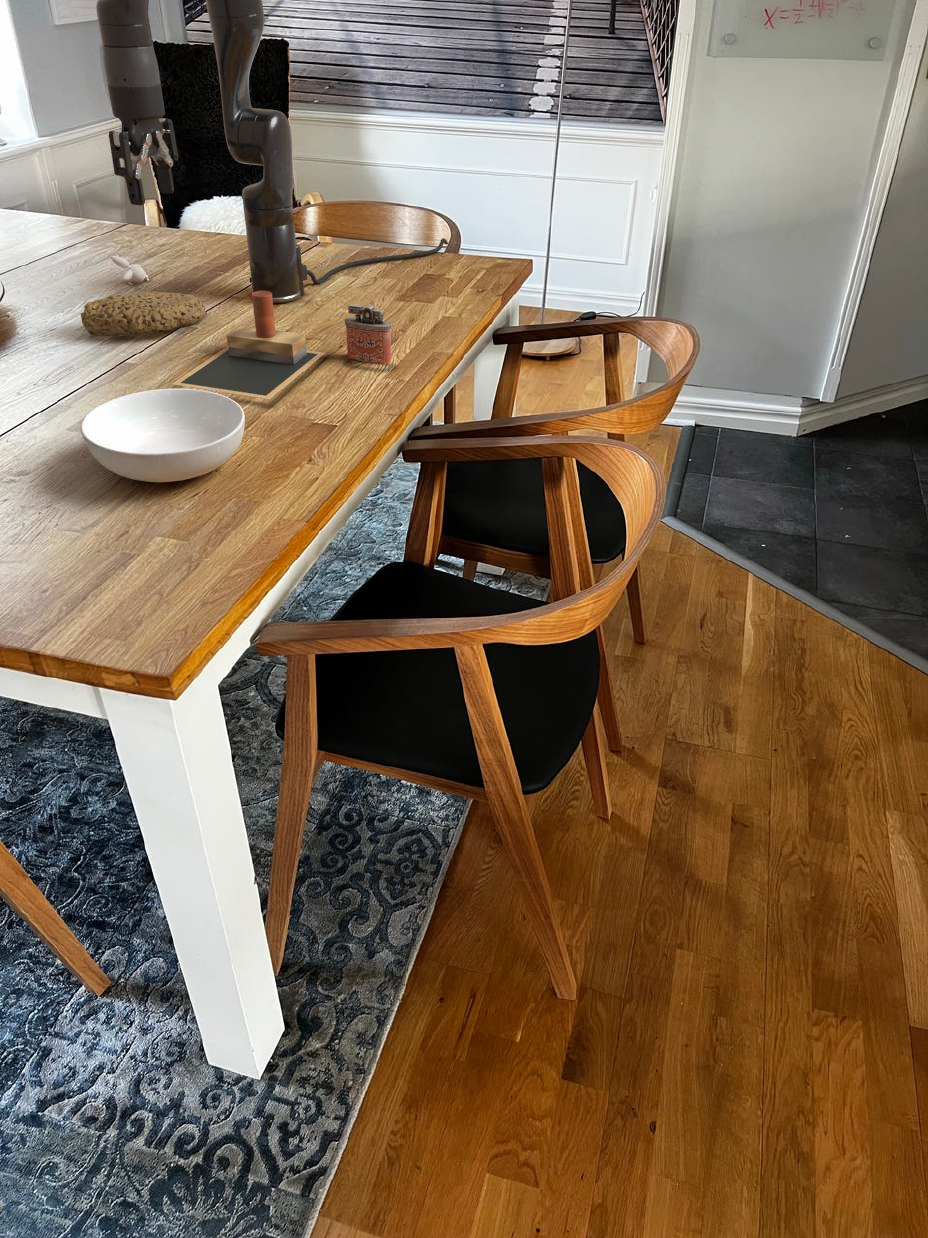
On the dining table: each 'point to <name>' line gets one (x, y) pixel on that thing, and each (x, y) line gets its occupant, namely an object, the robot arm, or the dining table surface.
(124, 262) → the rabbit figurine
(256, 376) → the board
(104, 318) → the sponge
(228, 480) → the dining table surface
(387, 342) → the lighter
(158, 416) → the serving bowl
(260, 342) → the eraser
